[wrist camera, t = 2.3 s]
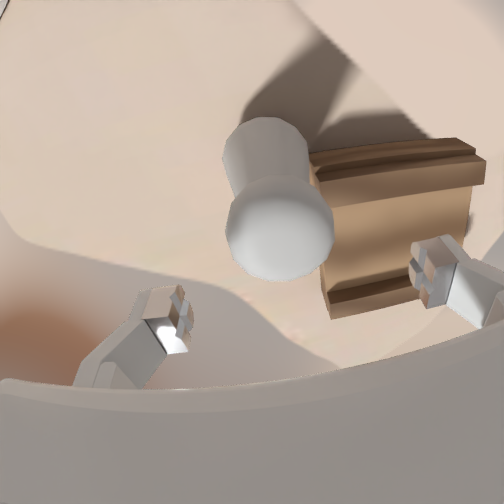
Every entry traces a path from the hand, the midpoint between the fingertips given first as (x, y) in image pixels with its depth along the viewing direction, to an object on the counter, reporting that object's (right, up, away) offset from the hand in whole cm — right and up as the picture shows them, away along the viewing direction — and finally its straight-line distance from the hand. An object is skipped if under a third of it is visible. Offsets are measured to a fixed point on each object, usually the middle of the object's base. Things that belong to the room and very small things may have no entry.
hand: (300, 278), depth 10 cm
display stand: (+11, +4, +15) cm, 19 cm away
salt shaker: (-1, +9, +12) cm, 15 cm away
